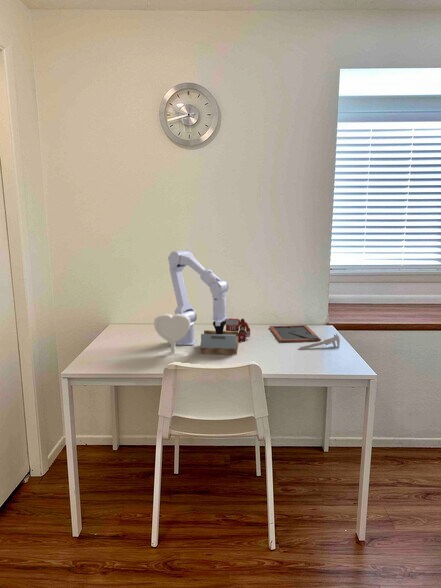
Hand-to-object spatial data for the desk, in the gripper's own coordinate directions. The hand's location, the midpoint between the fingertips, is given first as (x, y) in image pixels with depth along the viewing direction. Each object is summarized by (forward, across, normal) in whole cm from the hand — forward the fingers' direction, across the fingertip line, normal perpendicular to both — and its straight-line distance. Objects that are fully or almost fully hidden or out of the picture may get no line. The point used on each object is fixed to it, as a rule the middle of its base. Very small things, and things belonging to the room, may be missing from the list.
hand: (219, 337), depth 186 cm
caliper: (+7, +8, -45) cm, 46 cm away
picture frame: (+7, +28, -35) cm, 46 cm away
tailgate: (+3, -5, 0) cm, 6 cm away
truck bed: (+6, +2, 0) cm, 7 cm away
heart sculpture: (+7, -6, +20) cm, 22 cm away
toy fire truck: (+7, +18, -7) cm, 21 cm away
